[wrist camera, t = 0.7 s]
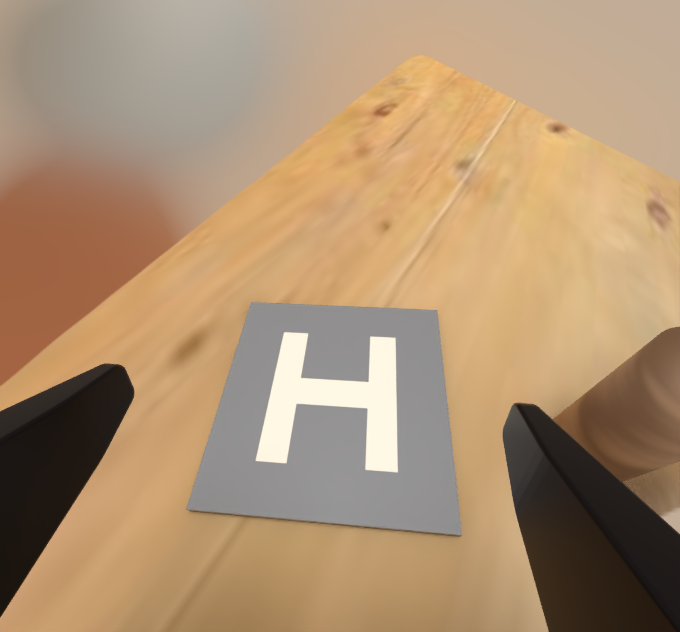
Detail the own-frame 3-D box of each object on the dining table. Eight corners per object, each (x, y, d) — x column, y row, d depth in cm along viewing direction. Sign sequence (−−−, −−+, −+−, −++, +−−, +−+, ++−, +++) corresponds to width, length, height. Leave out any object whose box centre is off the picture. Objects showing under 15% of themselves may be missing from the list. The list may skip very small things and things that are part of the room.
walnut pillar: (629, 479, 21) (824, 410, 12) (566, 500, 20) (723, 443, 12) (581, 413, 24) (713, 316, 15) (524, 429, 23) (626, 340, 14)
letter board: (459, 536, 20) (462, 535, 19) (190, 510, 21) (186, 509, 20) (435, 314, 29) (437, 310, 29) (252, 306, 30) (251, 302, 30)
